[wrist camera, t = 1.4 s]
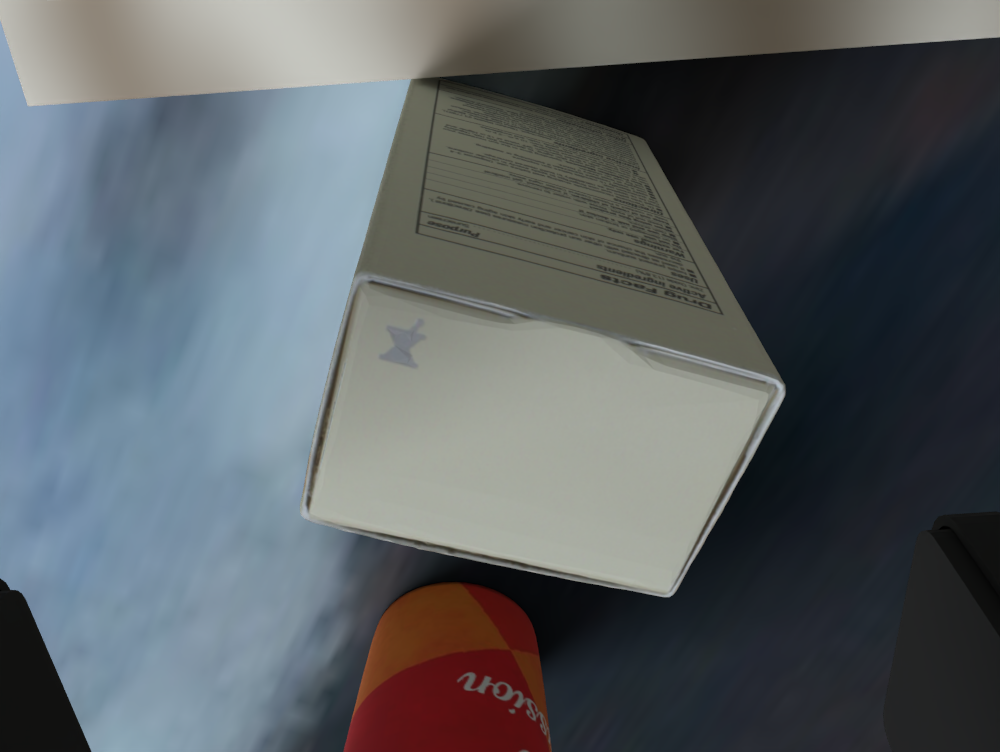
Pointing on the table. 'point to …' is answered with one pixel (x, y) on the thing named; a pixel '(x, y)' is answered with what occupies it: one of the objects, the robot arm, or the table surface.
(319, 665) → the table surface
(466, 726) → the paper cup
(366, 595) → the table surface
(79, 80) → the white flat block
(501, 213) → the skincare box
